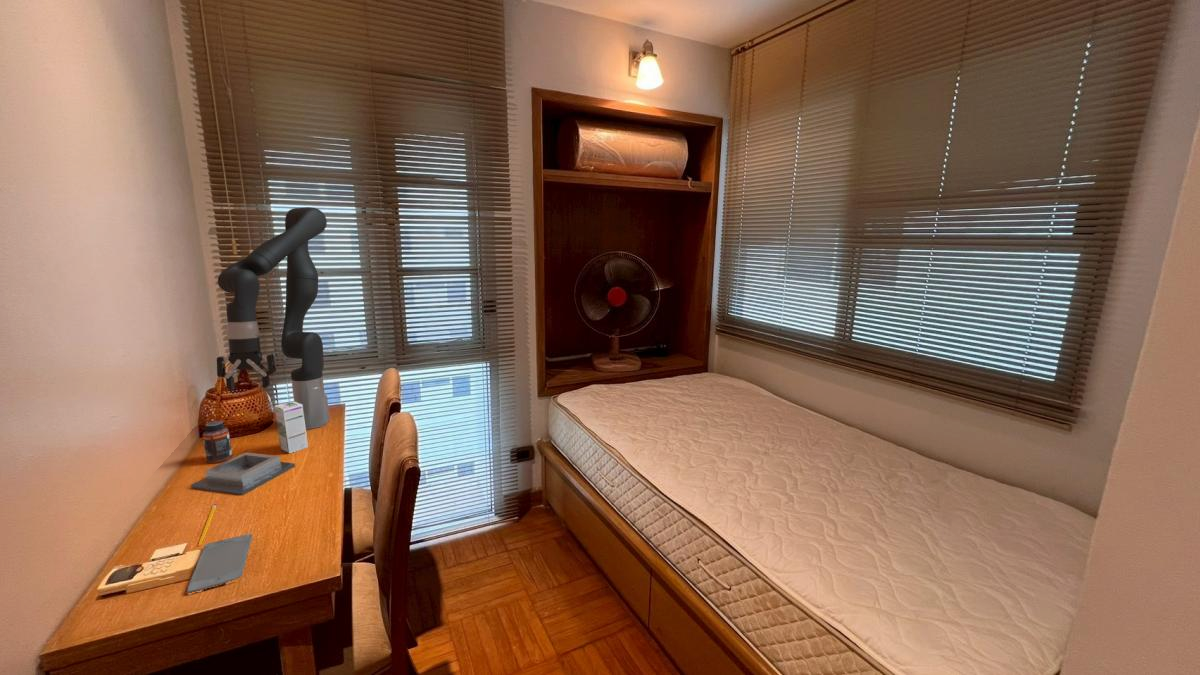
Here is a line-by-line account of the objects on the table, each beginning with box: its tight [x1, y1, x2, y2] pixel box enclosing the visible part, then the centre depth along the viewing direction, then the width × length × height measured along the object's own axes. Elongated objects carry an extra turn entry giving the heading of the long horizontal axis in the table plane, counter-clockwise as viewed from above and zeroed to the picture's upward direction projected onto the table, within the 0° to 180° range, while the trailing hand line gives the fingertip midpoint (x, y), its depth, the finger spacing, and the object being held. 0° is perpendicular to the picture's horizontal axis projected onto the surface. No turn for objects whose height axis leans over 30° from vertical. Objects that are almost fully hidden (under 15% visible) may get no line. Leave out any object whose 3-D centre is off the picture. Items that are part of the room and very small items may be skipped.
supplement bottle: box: [202, 420, 233, 464], centre depth 137 cm, size 6×6×11 cm
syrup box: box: [274, 400, 309, 454], centre depth 144 cm, size 6×6×14 cm
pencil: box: [197, 503, 217, 547], centre depth 106 cm, size 1×18×1 cm, turn 31°
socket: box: [190, 452, 296, 496], centre depth 127 cm, size 16×16×4 cm
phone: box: [185, 533, 253, 594], centre depth 93 cm, size 8×16×1 cm, turn 30°
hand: (248, 388), depth 143 cm, fingers open, 8 cm apart
